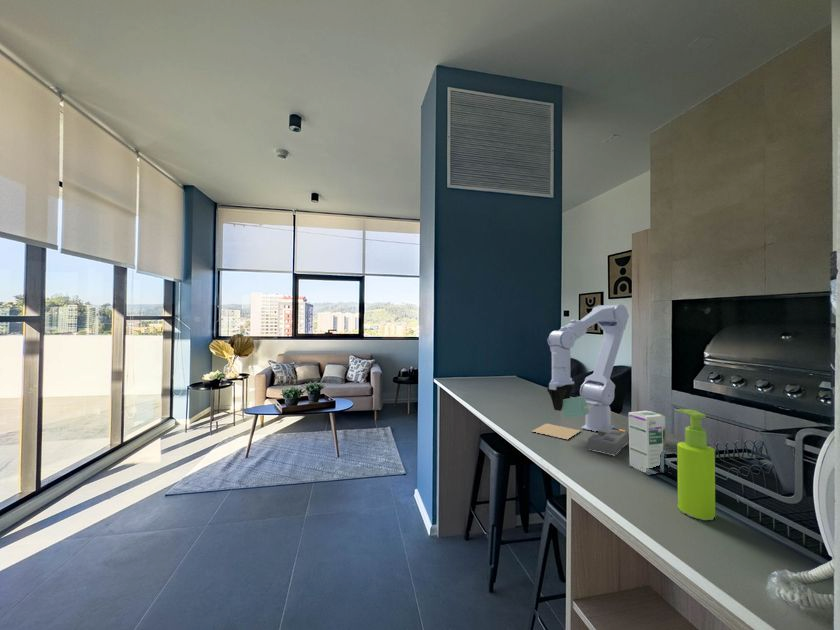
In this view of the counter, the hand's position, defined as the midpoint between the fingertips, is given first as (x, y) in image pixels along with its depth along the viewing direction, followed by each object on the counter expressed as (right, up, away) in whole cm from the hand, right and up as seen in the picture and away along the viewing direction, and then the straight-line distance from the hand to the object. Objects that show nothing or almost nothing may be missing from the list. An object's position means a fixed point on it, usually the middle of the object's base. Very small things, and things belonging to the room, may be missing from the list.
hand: (561, 408), depth 117 cm
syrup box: (+11, -9, -26) cm, 30 cm away
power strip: (+10, -9, -10) cm, 17 cm away
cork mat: (0, -9, +4) cm, 10 cm away
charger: (+5, -1, -4) cm, 6 cm away
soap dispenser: (+8, -9, -46) cm, 47 cm away
